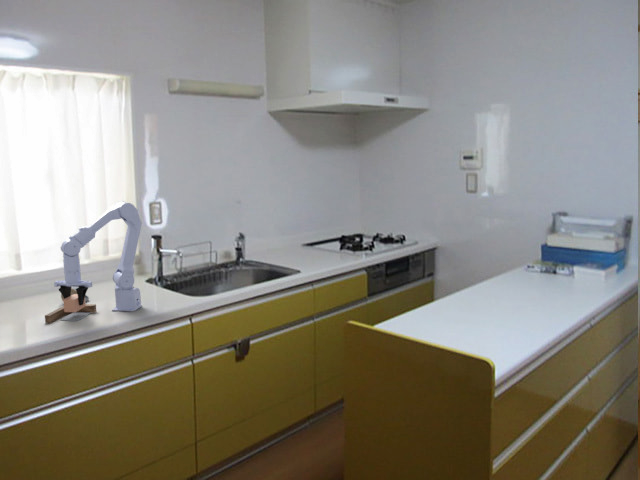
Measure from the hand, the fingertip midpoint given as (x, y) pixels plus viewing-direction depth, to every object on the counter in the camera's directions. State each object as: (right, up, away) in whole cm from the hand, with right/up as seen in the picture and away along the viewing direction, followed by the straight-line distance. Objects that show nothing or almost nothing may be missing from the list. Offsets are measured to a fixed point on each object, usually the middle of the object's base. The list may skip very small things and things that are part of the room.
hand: (75, 304), depth 216 cm
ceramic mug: (-10, -2, +23) cm, 25 cm away
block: (0, -2, 0) cm, 2 cm away
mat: (0, -5, +1) cm, 5 cm away
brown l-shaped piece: (-2, -5, 0) cm, 5 cm away
